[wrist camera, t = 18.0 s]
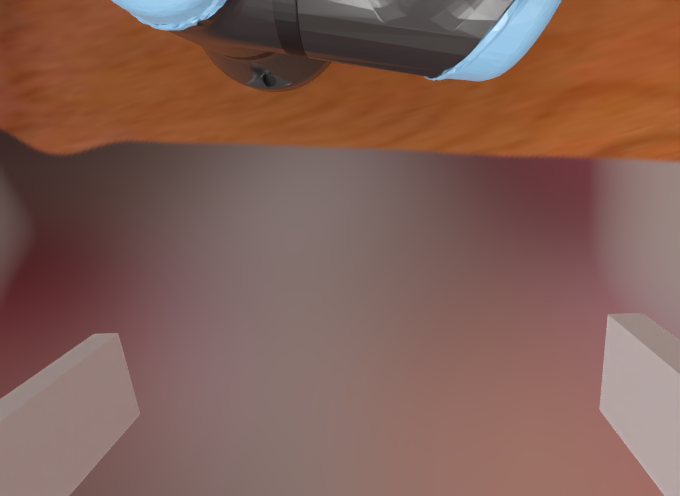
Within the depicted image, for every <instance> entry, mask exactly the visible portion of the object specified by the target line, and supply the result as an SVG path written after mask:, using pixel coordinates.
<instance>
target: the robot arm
mask: <svg viewBox="0 0 680 496" xmlns="http://www.w3.org/2000/svg"><path fill="white" fill-rule="evenodd" d="M112 1H113V2H114V3H116V4H117V5H119V6H120V7H122V8H124V9H126V10H127V11H129V12H130V14H131V15H133V16H134V17H136V18H137V19H138V20H139V21H140V22H142V23H144V24H149V25H150V26H151V27H153V28H156V29H160V30H167V31H169V32H171V33H174V34H176V35H178V36H180V37H183V38H185V39H187V40H189V41H192V42H194V43H196V44H199V45H201V46H202V47H203V48H204V50H205V52H206V53H207V55H208V56H209V58H210V59H211V60H212V61H213V62H214V63H215V65H216V66H217V67H218V68H219V69H221V70H222V71H223V72H224V73H225V74H226V75H228V76H229V77H231V78H232V79H234V80H235V81H237V82H239V83H241V84H243V85H246V86H248V87H252V88H255V89H258V90H262V91H269V92H281V91H288V90H292V89H296V88H298V87H301V86H303V85H305V84H307V83H309V82H310V81H312V80H313V79H315V78H316V77H317V76H319V75H320V74H321V73H322V72H323V71H324V70H325V69H326V68H327V67H328V65H329V64H330V63H331V62H337V63H343V64H349V65H356V66H362V67H369V68H375V69H382V70H388V71H395V72H401V73H408V74H414V75H421V76H424V77H425V78H426V79H430V80H436V79H437V80H442V79H445V78H450V79H460V80H470V81H483V80H488V79H492V78H494V77H497V76H499V75H501V74H503V73H504V72H506V71H507V70H508V69H510V68H511V67H512V66H514V65H515V64H516V63H517V62H518V61H519V60H520V59H521V58H522V57H523V56H524V55H525V54H526V52H527V51H528V50H529V49H530V48H531V46H532V45H533V44H534V43H535V41H536V40H537V39H538V37H539V36H540V34H541V33H542V31H543V30H544V29H545V27H546V26H547V24H548V22H549V21H550V19H551V18H552V16H553V14H554V13H555V11H556V9H557V8H558V6H559V4H560V3H561V1H562V0H112ZM600 411H601V412H602V414H603V415H604V416H605V418H606V419H607V420H608V422H609V423H610V424H611V425H612V427H613V428H614V430H615V431H616V432H617V433H618V435H619V436H620V437H621V439H622V440H623V441H624V442H625V444H626V445H627V447H628V448H629V449H630V451H631V452H632V453H633V455H634V456H635V457H636V459H637V460H638V461H639V462H640V464H641V465H642V467H643V468H644V469H645V471H646V472H647V473H648V474H649V476H650V477H651V478H652V480H653V481H654V482H655V484H656V485H657V486H658V488H659V489H660V490H661V492H662V493H663V494H664V496H680V340H679V339H677V338H676V337H675V336H673V335H672V334H670V333H669V332H668V331H666V330H665V329H664V328H662V327H661V326H659V325H658V324H657V323H655V322H654V321H652V320H651V319H650V318H648V317H647V316H645V315H644V314H643V313H630V314H629V313H628V314H608V320H607V331H606V342H605V354H604V366H603V376H602V389H601V399H600ZM139 414H140V412H139V409H138V405H137V401H136V398H135V394H134V390H133V387H132V383H131V379H130V376H129V372H128V368H127V365H126V361H125V357H124V354H123V350H122V346H121V342H120V339H119V336H118V333H107V334H93V335H92V336H90V337H89V338H87V339H86V340H85V341H83V342H82V343H80V344H79V345H77V346H76V347H75V348H73V349H72V350H70V351H69V352H68V353H66V354H65V355H63V356H62V357H60V358H59V359H57V360H56V361H55V362H53V363H52V364H50V365H49V366H47V367H46V368H44V369H43V370H42V371H40V372H39V373H37V374H36V375H34V376H33V377H31V378H30V379H29V380H27V381H26V382H24V383H23V384H21V385H20V386H19V387H17V388H16V389H14V390H13V391H11V392H10V393H9V394H7V395H6V396H4V397H3V398H2V399H0V496H69V495H70V494H71V493H72V492H73V491H74V489H75V488H76V487H77V486H78V485H79V484H80V483H81V481H82V480H83V479H84V478H85V477H86V476H87V474H88V473H89V472H90V471H91V470H92V469H93V467H94V466H95V465H96V464H97V463H98V462H99V461H100V459H101V458H102V457H103V456H104V455H105V454H106V453H107V451H108V450H109V449H110V448H111V447H112V446H113V445H114V443H115V442H116V441H117V440H118V439H119V437H121V435H122V434H123V433H124V432H125V431H126V430H127V428H128V427H129V426H130V425H131V424H132V423H133V422H134V420H135V419H136V418H137V417H138V416H139Z"/></svg>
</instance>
